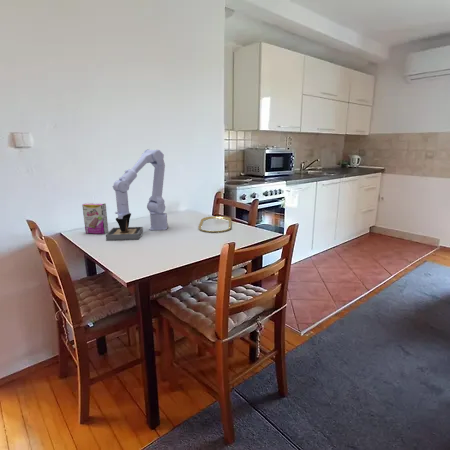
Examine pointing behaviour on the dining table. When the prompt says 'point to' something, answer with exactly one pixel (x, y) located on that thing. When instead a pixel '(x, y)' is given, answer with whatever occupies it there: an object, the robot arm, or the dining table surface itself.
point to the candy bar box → (95, 218)
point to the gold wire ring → (214, 218)
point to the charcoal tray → (112, 236)
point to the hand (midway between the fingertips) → (124, 229)
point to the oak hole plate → (130, 231)
